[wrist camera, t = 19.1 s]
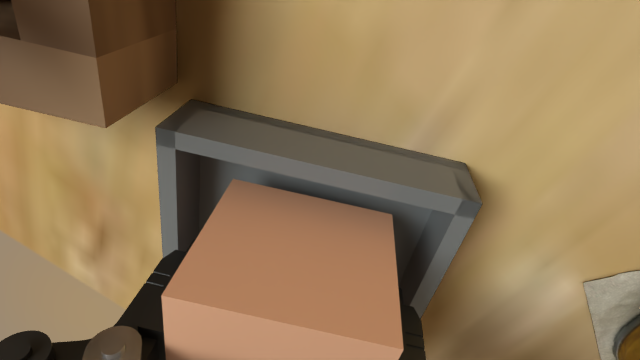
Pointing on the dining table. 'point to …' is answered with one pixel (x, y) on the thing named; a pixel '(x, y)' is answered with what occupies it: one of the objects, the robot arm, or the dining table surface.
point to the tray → (315, 183)
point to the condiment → (616, 315)
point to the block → (285, 282)
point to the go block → (86, 56)
